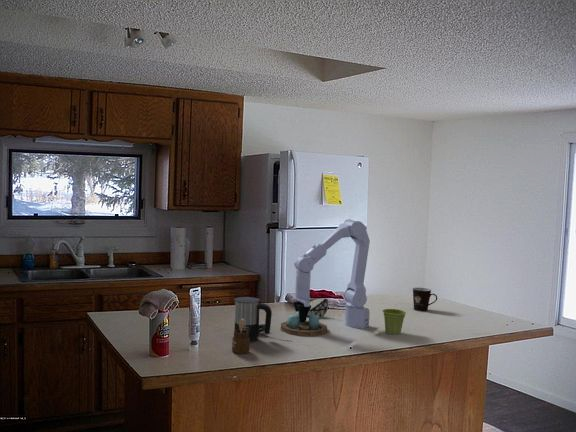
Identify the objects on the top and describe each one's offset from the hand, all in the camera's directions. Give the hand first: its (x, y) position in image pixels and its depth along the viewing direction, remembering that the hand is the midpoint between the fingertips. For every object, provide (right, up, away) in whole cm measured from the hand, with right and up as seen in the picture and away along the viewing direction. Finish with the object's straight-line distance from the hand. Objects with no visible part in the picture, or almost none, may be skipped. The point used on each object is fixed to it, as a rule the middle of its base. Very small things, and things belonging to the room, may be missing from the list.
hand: (301, 320), depth 243 cm
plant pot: (+37, -5, +2) cm, 37 cm away
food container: (+3, 0, +27) cm, 27 cm away
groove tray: (+1, -4, -4) cm, 6 cm away
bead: (-4, -3, -4) cm, 6 cm away
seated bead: (+5, -3, -2) cm, 6 cm away
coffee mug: (+59, -4, +47) cm, 75 cm away
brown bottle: (-21, -5, -35) cm, 41 cm away
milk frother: (-19, -4, -14) cm, 24 cm away
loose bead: (0, -1, 0) cm, 2 cm away
